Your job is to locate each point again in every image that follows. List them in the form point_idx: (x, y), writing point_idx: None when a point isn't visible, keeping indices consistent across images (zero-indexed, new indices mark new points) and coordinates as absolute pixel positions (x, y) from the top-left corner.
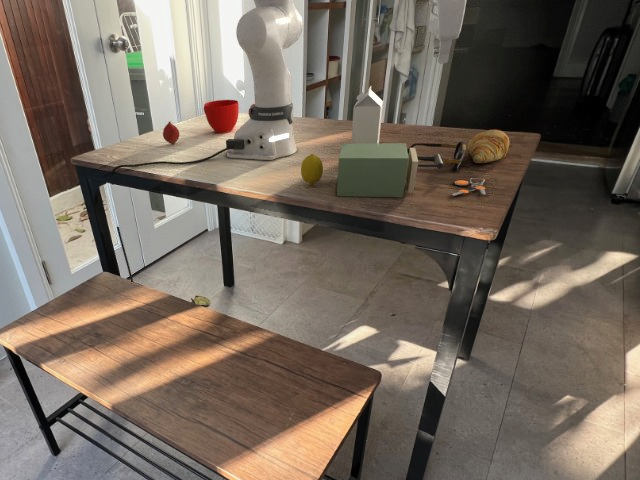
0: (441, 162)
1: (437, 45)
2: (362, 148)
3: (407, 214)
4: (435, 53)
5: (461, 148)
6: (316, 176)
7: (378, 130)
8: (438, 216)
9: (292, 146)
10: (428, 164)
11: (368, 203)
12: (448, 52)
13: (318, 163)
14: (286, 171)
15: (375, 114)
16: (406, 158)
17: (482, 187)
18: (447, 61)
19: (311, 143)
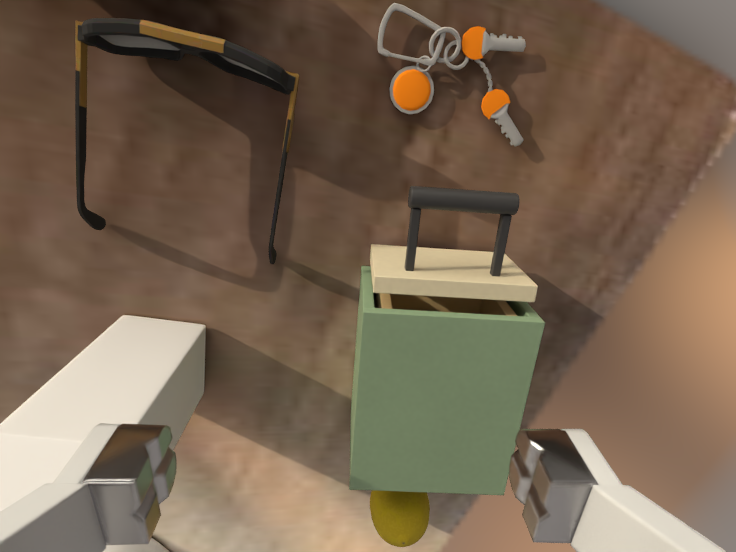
0: (511, 202)
1: (76, 542)
2: (412, 439)
3: (613, 275)
4: (159, 490)
5: (175, 44)
6: None
7: (164, 384)
8: (640, 205)
9: (117, 548)
10: (505, 241)
11: None
12: (635, 498)
13: (420, 509)
14: (288, 527)
15: None
16: (543, 327)
17: (474, 35)
18: (583, 433)
19: None
